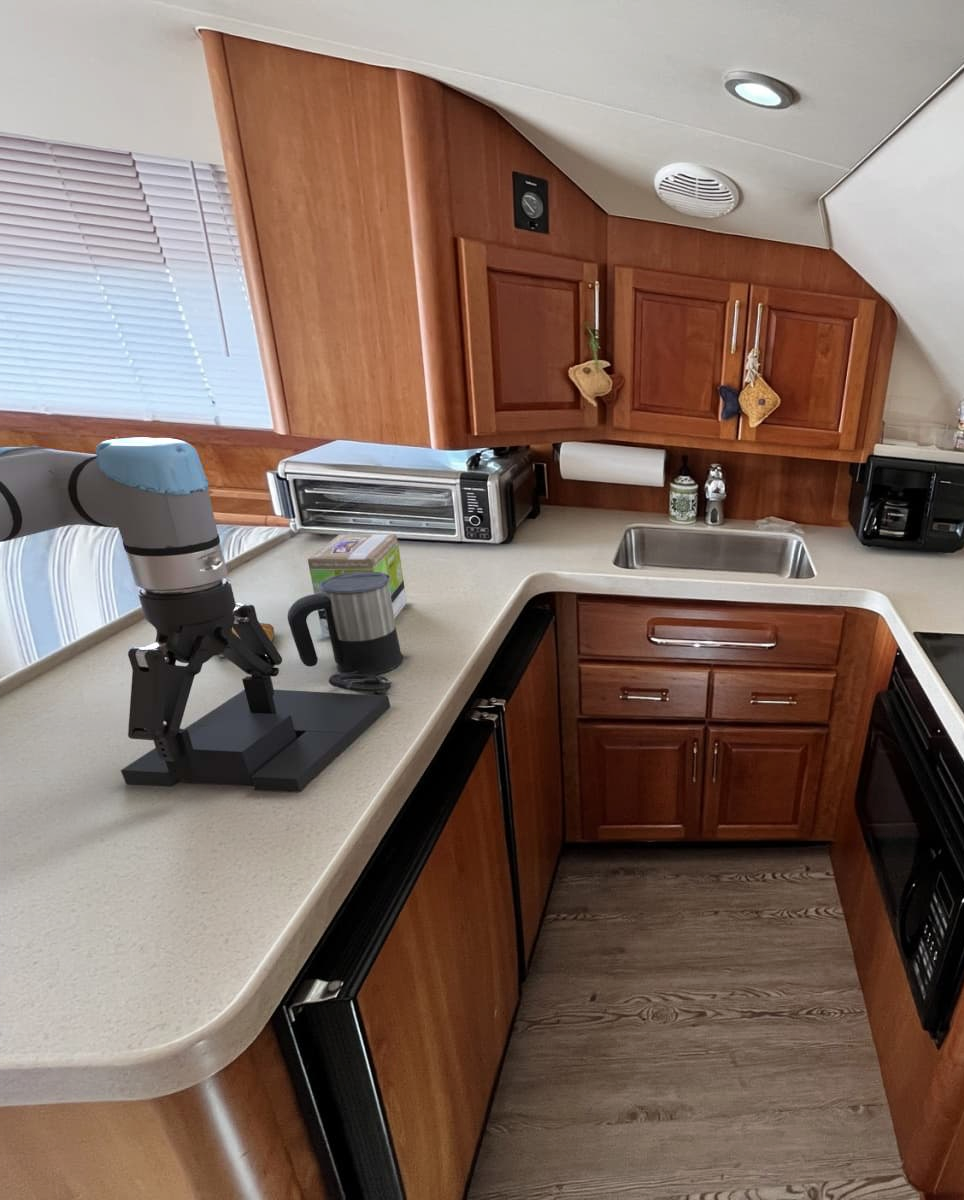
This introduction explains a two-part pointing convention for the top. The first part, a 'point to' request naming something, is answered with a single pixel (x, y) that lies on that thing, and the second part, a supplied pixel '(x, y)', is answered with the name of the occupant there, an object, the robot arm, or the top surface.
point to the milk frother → (352, 629)
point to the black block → (240, 746)
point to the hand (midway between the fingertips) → (228, 748)
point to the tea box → (359, 565)
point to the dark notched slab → (320, 740)
